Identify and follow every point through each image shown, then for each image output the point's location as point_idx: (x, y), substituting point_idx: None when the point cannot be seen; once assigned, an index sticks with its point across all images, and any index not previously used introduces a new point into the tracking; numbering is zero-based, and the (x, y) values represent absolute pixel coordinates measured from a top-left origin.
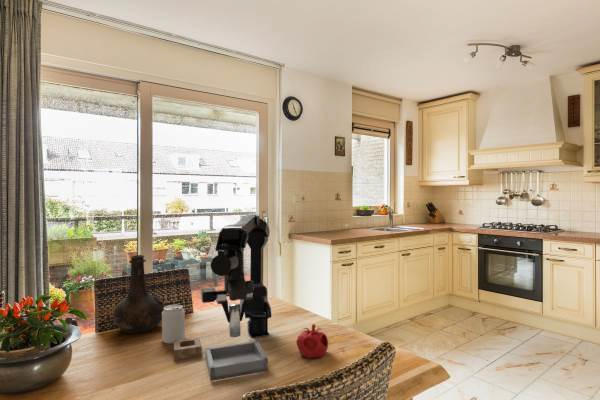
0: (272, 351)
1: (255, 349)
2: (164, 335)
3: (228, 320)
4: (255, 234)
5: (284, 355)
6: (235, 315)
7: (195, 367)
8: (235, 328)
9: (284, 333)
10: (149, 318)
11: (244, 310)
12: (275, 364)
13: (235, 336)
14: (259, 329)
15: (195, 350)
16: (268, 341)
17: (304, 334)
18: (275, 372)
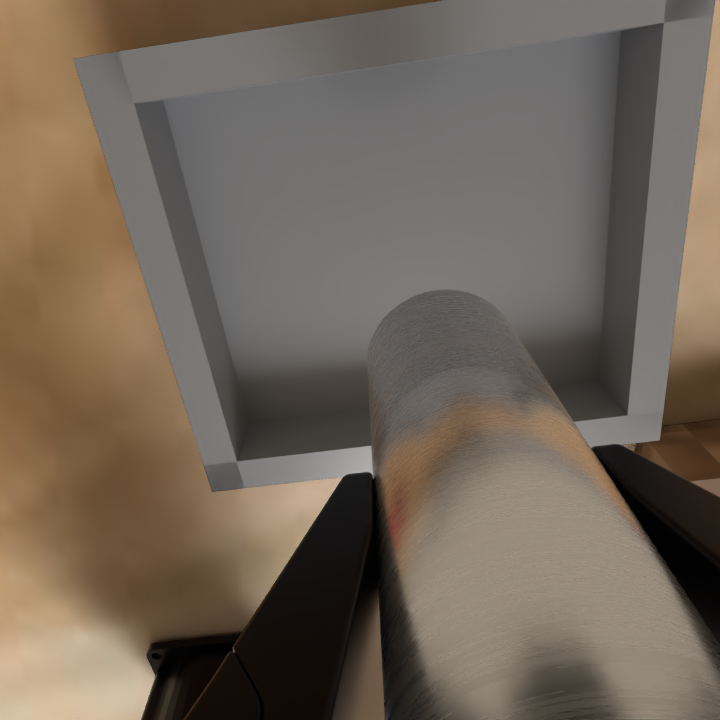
0: (110, 419)
1: (229, 391)
2: None
3: (637, 462)
4: None
5: (5, 334)
6: (523, 498)
7: (713, 283)
8: (462, 340)
9: (45, 652)
10: None
11: (248, 649)
12: (66, 186)
13: (443, 291)
14: (204, 686)
15: (716, 459)
16: (150, 568)
17: None
18: (51, 16)
